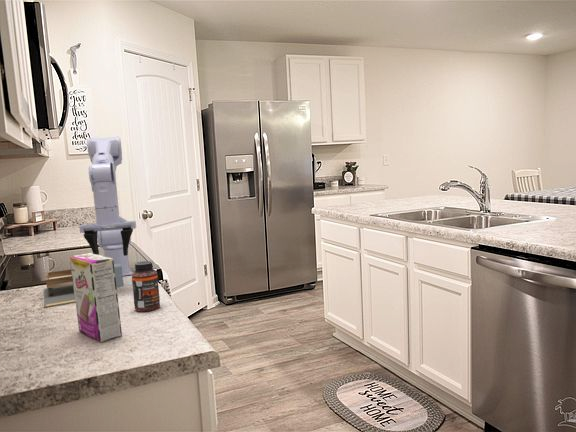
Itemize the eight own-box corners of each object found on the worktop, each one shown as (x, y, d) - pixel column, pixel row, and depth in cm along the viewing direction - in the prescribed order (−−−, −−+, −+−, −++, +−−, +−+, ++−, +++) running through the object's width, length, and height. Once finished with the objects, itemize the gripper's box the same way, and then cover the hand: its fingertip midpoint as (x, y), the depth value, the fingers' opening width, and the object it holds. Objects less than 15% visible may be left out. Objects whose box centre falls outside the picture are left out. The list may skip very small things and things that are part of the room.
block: (105, 285, 142) (103, 265, 141) (121, 283, 144) (119, 263, 143) (107, 289, 138) (105, 268, 137) (123, 286, 140) (121, 266, 139)
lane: (44, 289, 142) (44, 288, 142) (91, 282, 147) (91, 280, 147) (44, 308, 122) (43, 306, 122) (98, 298, 128) (98, 297, 128)
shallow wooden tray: (48, 288, 141) (46, 272, 140) (88, 282, 146) (86, 266, 145) (48, 297, 131) (45, 280, 130) (91, 289, 136) (89, 273, 135)
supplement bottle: (144, 313, 112) (140, 266, 111) (129, 310, 115) (124, 264, 114) (165, 306, 117) (161, 260, 115) (150, 303, 120) (145, 259, 119)
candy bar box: (77, 331, 102) (68, 256, 100) (100, 325, 106) (92, 251, 104) (99, 344, 94) (89, 262, 92) (123, 336, 98) (114, 257, 96)
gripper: (73, 211, 126) (79, 261, 128) (130, 206, 128) (135, 256, 130) (81, 208, 133) (87, 256, 135) (135, 204, 135) (140, 251, 137)
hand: (111, 256), depth 133 cm, fingers open, 7 cm apart
